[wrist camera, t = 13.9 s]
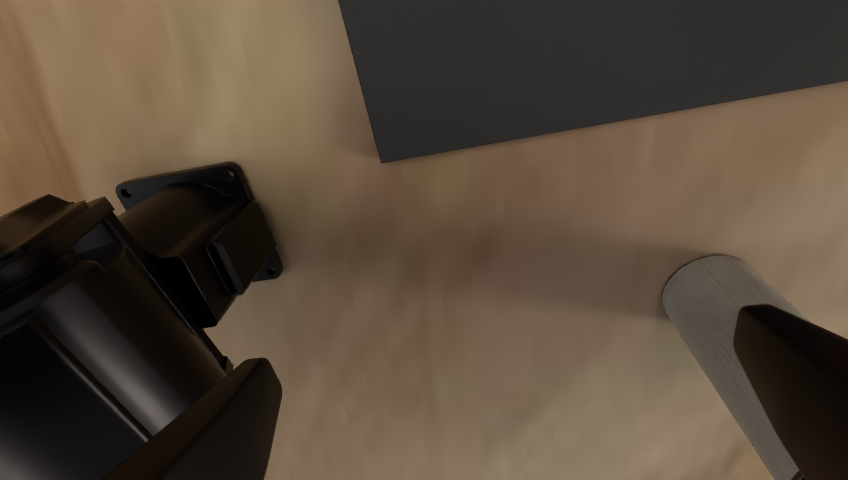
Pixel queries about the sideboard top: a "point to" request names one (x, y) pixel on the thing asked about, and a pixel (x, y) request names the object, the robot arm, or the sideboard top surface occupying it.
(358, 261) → the sideboard top surface
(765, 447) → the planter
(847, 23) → the placemat
